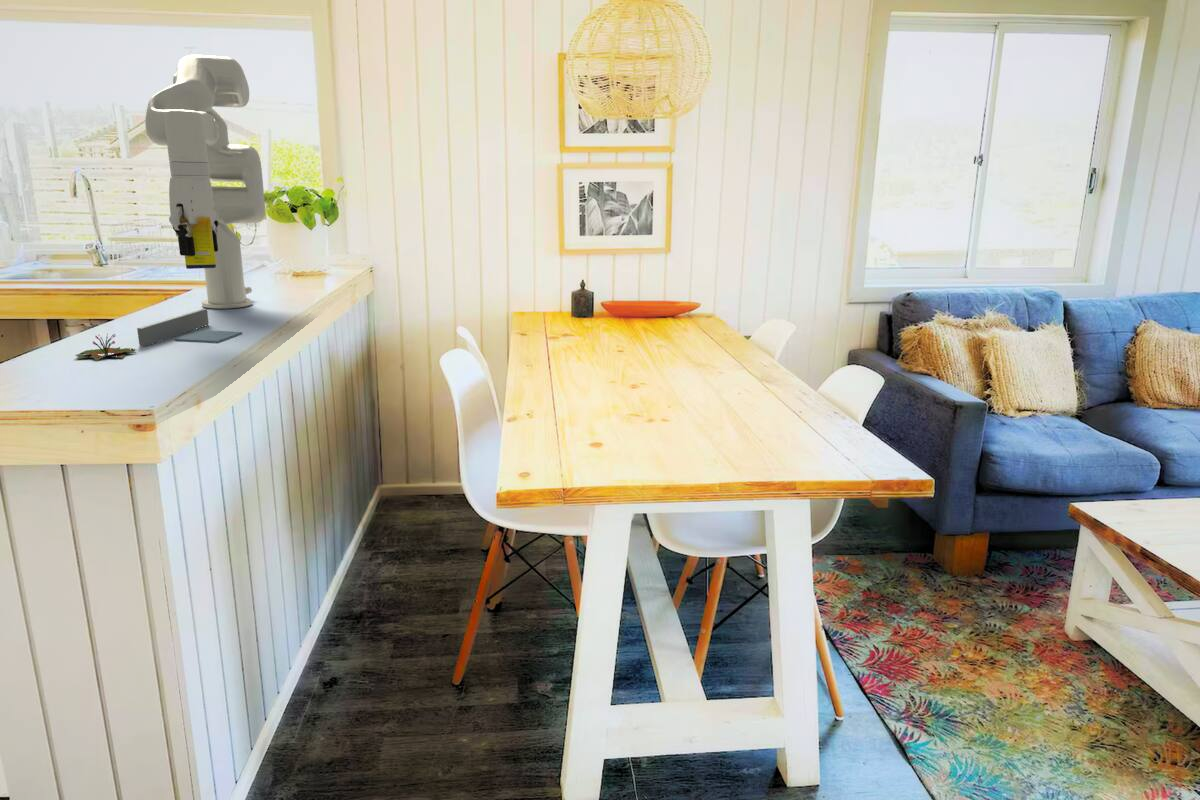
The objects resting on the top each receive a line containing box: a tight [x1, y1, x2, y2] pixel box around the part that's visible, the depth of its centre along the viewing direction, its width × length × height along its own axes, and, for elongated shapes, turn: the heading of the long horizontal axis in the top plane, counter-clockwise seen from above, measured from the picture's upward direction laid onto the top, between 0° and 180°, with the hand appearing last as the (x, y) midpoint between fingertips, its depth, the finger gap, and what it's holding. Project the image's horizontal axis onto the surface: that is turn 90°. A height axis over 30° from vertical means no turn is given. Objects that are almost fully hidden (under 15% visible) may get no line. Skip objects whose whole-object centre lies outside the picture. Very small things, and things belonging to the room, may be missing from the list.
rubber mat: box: [174, 329, 243, 344], centre depth 182 cm, size 10×10×1 cm
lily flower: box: [75, 333, 137, 362], centre depth 163 cm, size 12×12×5 cm
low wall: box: [136, 308, 209, 347], centre depth 182 cm, size 24×1×4 cm, turn 174°
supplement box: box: [180, 217, 216, 270], centre depth 176 cm, size 6×6×11 cm
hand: (199, 252), depth 176 cm, fingers closed on supplement box, 8 cm apart
